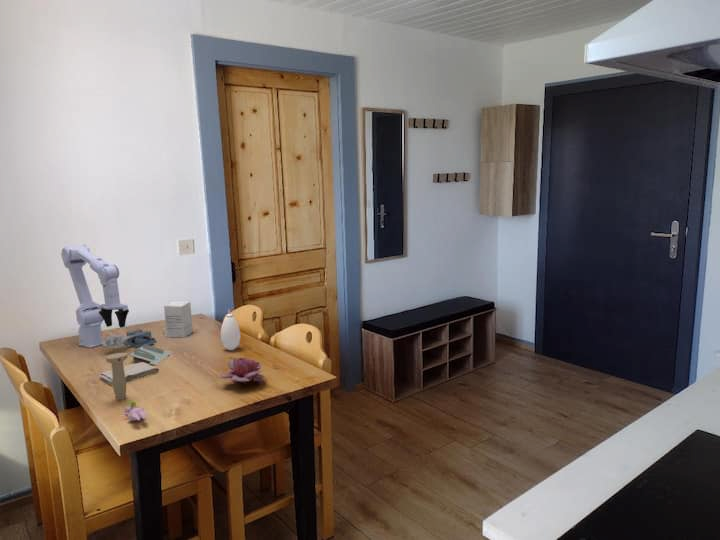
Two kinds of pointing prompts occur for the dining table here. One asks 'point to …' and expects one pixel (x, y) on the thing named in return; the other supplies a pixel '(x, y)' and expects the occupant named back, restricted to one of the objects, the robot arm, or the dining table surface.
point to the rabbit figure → (134, 412)
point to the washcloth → (130, 372)
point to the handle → (118, 374)
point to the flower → (244, 370)
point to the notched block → (116, 340)
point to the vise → (134, 339)
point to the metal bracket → (150, 354)
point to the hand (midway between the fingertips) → (115, 326)
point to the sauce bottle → (230, 332)
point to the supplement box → (178, 319)
